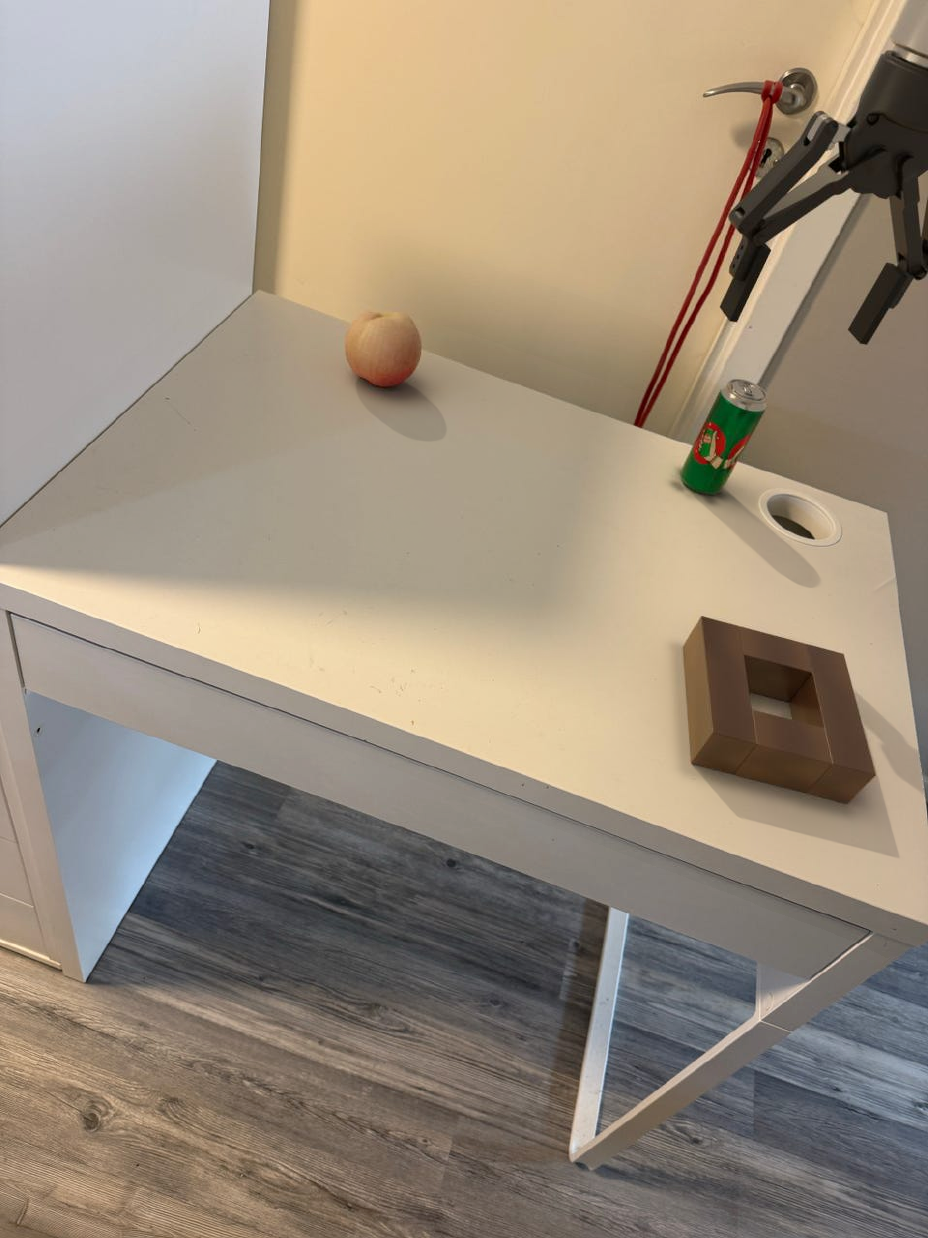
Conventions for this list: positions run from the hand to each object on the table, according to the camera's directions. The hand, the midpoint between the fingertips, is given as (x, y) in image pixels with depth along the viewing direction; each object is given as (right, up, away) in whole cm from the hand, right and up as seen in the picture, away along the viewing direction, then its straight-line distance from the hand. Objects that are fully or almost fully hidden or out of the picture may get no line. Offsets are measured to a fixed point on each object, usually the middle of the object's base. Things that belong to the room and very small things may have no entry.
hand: (793, 326), depth 78 cm
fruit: (-40, 0, +18) cm, 44 cm away
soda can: (-4, -12, +18) cm, 22 cm away
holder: (-6, -35, -7) cm, 36 cm away
